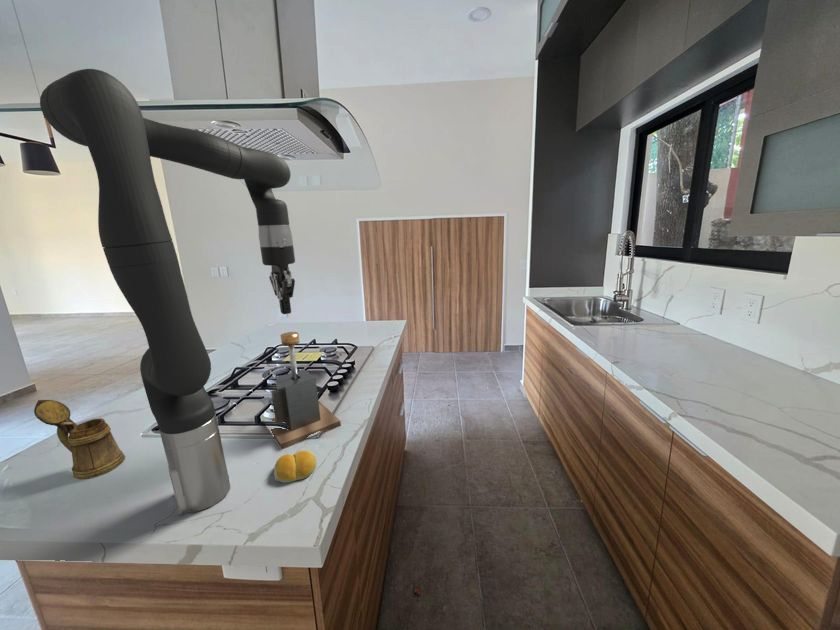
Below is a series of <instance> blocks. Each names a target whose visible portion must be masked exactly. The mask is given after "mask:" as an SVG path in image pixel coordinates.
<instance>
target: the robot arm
mask: <svg viewBox="0 0 840 630" xmlns="http://www.w3.org/2000/svg"><path fill="white" fill-rule="evenodd" d="M39 105H40V106H39V107H40V110H41V112H42V115H43V116H44V119H46V121H47V123H48V124H49V125H50V126H51V127H52V128H53V129H54V131H56V132H57V133H58V134H60V135H61V136H63V137H64V138H66V139H68V140H69V141H71V142H73V143H75V144H78V145H80V146H84V147H87V148H88V150H89V153H90V157H91V159H92V162H93V165H94V168H95V171H96V175H97V176H96V177H97V180H98V181H97V182H98V208H97V211H98V212H97V213H98V215H97V217H98V219H97V221H98V222H97V223H98V224H97V225H98V226H97V228H98V234H99V239H100V244H101V247H102V250H103V252H104V255H105V258H106V261H107V265H108V267H109V270H110V272H111V274H112V277H113V279H114V280H115V283H116V285H117V286H118V288H119V290H120V292H121V293H122V295H123V297H124V298H125V300H126V302H127V303H128V305H129V307H131V309H132V311H133V313H134V314H135V315H136V317H137V319H138V321H139V322H140V324H141V326H142V329H143V332H144V335H145V337H146V340H147V345H148V349H146V350H145V352H144V353H143V355H142V357H141V360H140V366H139V368H140V377H141V380H142V384H143V387H144V390H145V394H146V397H147V401H148V404H149V408H150V411H151V413H152V416H154V417H153V418H154V419H155V420H156V423H157V426H158V430H159V433H160V437H161V442H162V445H163V449H164V454H165V458H166V460H167V465H168V473H169V477H170V481H171V486H172V489H173V493H174V497H175V502H176V505H177V509H178V512H179V515H184V514H186V513H193V512H194V513H195V512H199V511H203V510H206V509H208V508H211V507H212V506H214V505H216V504H218V503H219V502H220V501H222V500H223V499H224V498H225V497H226V495H228V493H229V491H230V489H231V483H230V476H229V472H228V468H227V467H228V466H227V463H226V459H225V453H224V447H223V443H222V439H221V433H220V428H219V423H218V419H217V415H216V409H215V404H214V401H213V400H212V398H211V397H210V395H209V394H208V392H207V390H206V389H205V385H206V384H207V383H208V381H209V379H210V376H211V374H212V373H211V372H212V363H211V362H212V361H211V359H210V355H209V354H208V351H207V349H206V347H205V343H204V342H203V339H202V337H201V334H200V332H199V330H198V328H197V326H196V323H195V320H194V317H193V314H192V311H191V306H190V302H189V299H188V297H189V296H188V293H187V290H186V287H185V283H184V279H183V276H182V271H181V266H180V262H179V258H178V254H177V252H176V248H175V245H174V242H173V237H172V235H171V232H170V229H169V226H168V222H167V219H166V215H165V212H164V208H163V205H162V201H161V197H160V193H159V191H158V188H157V184H156V180H155V177H154V170H153V166H152V159H151V157H152V158H156V159H161V160H164V161H165V160H166V161H168V162H169V161H170V162H172V163H178V164H181V165H185V166H189V167H190V168H191V167H192V168H196V169H198V170H202V171H206V172H208V173H213V174H215V175H219V176H222V177H225V178H229V179H233V180H234V179H235V180H244V183H245V186H246V188H247V191H248V194H249V196H250V199H251V200H252V203H253V205H254V207H255V211H256V218H257V219H256V220H257V226H258V240H259V247H260V255H261V261H262V264H263V265H264V266H271V272H270V275H269V276H268V277H269V281H270V283H271V286H272V289H273V293H274V295H275V297H277V299H278V302H279V309H280V314H282V315H289V314H291V313H292V307H291V298H293V297H294V290H295V283H296V280H295V278H292V277H293V276H292V272H291V271H290V267H289V265H292V264H295V262H296V257H295V249H294V248H295V247H294V241H293V235H292V230H291V225H290V220H289V219H290V218H289V211H288V206H287V205H288V204H286V202H285V201H284V200H282V199H278V198H276V197H275V195H274V192H273V189H279V188H283V187H285V186H287V185H288V184H289V182H290V179H291V169H290V167H289V165H288V163H287V162H286V161H285V160H284V159H283V158H282V157H280V156H278V155H277V154H275V153H272V152H269V151H265V150H261V149H256V148H252V147H245V146H242V145H239V144H238V143H235V142H233V141H230V140H228V139H225V138H222V137H220V136H217V135H215V134H212V133H208V132H205V131H202V130H196V129H191V128H187V127H183V126H182V127H181V126H176V125H171V124H166V123H162V122H158V121H155V120H151V119H148V118H145V117H144V116H143V113H142V110H141V108H140V106H139V103H138V102H137V100H136V98H135V97H134V95H133V94H132V92H131V91H130V90H129V89H128V88H127V87H126V85H125V84H123V82H121V81H120V80H118V79H117V78H116V77H115V76H113V75H111V74H109V73H108V72H106V71H104V70H101V69H100V70H99V69H96V68H84V69H79V70H74V71H71V72H70V73H67V74H66V75H64V76H62V77H60V78H59V79H56V80H54V81H52V82H51V83H50V84H47V86H46V87H45V88H44V89H43V91H42V92H41V95H40V96H39Z"/></svg>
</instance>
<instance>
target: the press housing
mask: <svg viewBox="0 0 840 630" xmlns="http://www.w3.org/2000/svg"><path fill="white" fill-rule="evenodd" d="M297 372H298V378H299V379H296V380H292V379H293V376H292V372H291V373H288V374H284V375H279V376H276V377H275V382H276V387H277V389H275V390H272V391H271V392H270V393H271V399H272V406H273V411H274V412H273V413H274V415H275V419H276V420H277V421H279V420H282V419H283V421H284V422H285V423H286V424H287V425H288V426H289V427H290V430H291V431H293V430H296V429H299V428H301V427H304V426H306V425H309V424H312V423H314V422H317V421H320V420H321V418H320V410H319V402H320V401H319V395H318V388H317V387H318V385H317V380H316V377H315V376H313V375H312V374H311V373H310V372H309V371H308V370H306V369H302V370H297ZM318 401H319V402H318Z"/></svg>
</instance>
